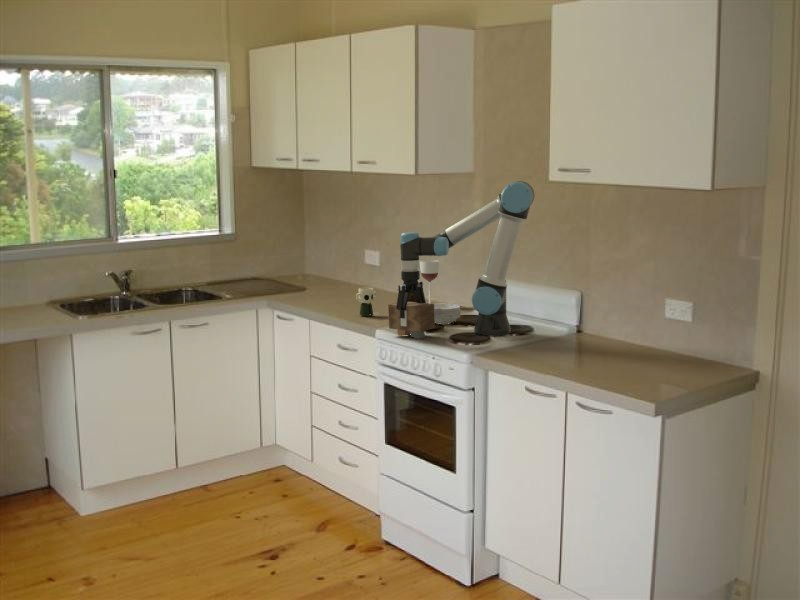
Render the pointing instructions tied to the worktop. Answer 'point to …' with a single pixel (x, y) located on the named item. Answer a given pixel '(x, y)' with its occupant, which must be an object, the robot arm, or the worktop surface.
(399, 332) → the terracotta block
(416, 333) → the slate block
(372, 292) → the character mug
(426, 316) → the brown wooden block
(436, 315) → the paper bowls
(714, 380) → the worktop surface
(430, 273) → the wineglass
